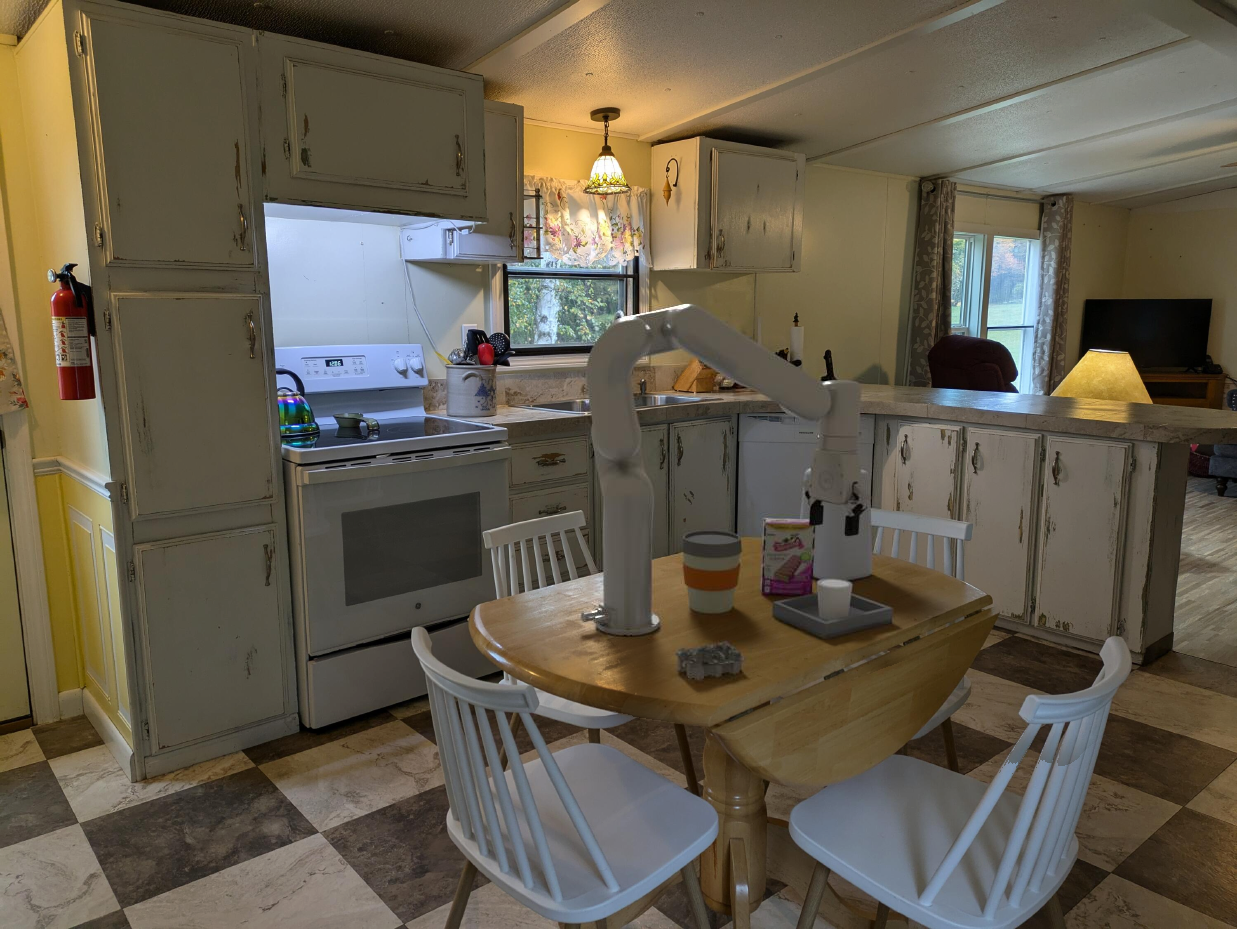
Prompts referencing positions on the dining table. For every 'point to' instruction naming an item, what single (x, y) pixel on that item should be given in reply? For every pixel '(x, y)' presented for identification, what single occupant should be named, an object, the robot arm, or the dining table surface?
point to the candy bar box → (787, 556)
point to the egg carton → (709, 660)
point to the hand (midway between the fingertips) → (833, 530)
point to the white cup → (833, 598)
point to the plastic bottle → (841, 540)
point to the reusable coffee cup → (711, 569)
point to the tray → (807, 618)
